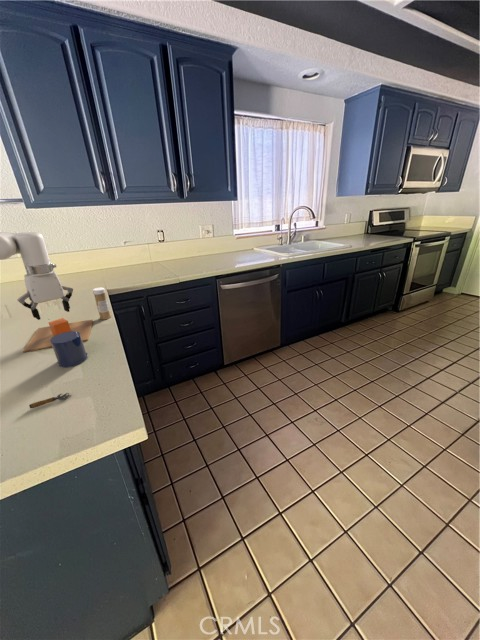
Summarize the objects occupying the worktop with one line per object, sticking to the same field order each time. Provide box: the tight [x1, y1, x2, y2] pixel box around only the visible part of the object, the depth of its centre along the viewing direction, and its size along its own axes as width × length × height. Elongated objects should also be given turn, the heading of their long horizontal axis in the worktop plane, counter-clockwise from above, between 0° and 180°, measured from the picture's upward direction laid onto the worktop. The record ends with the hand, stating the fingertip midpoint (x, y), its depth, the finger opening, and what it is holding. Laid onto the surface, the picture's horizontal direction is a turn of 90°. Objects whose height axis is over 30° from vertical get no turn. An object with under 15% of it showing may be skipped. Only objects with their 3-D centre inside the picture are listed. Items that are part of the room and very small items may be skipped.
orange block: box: [47, 317, 71, 336], centre depth 102 cm, size 5×5×5 cm
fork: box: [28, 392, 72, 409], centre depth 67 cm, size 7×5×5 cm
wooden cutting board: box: [22, 319, 94, 353], centre depth 103 cm, size 20×20×1 cm
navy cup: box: [50, 331, 89, 368], centre depth 84 cm, size 8×8×8 cm
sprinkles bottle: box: [92, 287, 112, 320], centre depth 114 cm, size 5×5×13 cm
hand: (53, 314), depth 99 cm, fingers open, 9 cm apart
